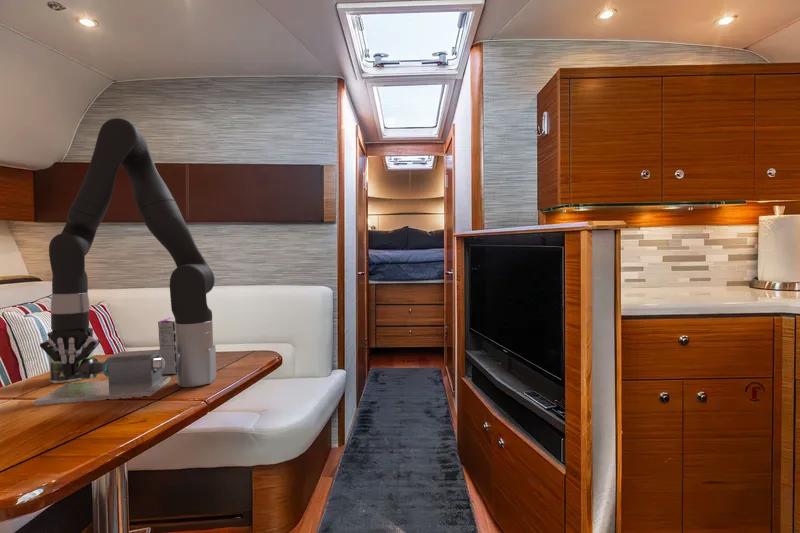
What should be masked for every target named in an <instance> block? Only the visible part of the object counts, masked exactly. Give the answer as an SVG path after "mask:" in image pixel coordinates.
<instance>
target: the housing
mask: <svg viewBox="0 0 800 533" xmlns="http://www.w3.org/2000/svg"><path fill="white" fill-rule="evenodd" d="M107 358H108V377H107V378H108V379H107V380H96V381H82V382H80V381H79V382H67V383H66V384H64V385H63V386H60V387H59V388H57V389H55V390H52V391H50V392H49V393H46V394H45V395H43V396H40V397H39V398H37V399H35V400H33V404H34V405H33V406H49V405H59V404H60V405H61V404H71V402H73V403H83V401H85V402H95V401H107V400H106V399H110V400H119V398H122V399H130V398H131V399H133V398H132V397H135V398H144V397H143V396H147V397H152V396H153V395H154V394H155V393H157V392H158V391H159V390H160V389H161V388H163V387H164V386H165V385H167V383H169V382H170V381H171V375H162V370H153V358H161V350H160V349H150V350H149V349H147V350H146V349H145V350H131V351H129V350H128V351H120V352H117V353H115V354H113V355H111V356H109V357H107Z"/></svg>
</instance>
